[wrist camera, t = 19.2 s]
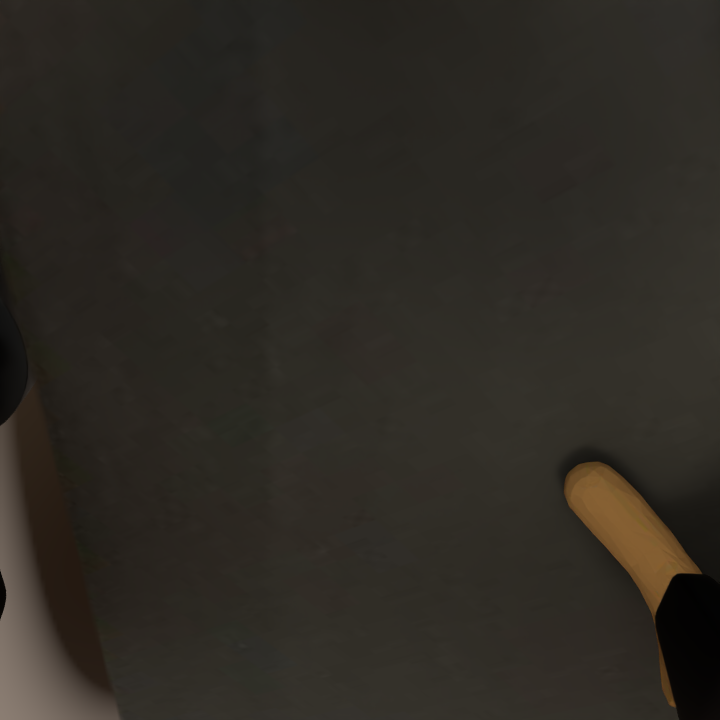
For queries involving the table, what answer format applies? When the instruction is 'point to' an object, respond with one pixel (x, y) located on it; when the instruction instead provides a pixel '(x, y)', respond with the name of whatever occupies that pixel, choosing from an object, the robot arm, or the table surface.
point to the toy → (629, 535)
